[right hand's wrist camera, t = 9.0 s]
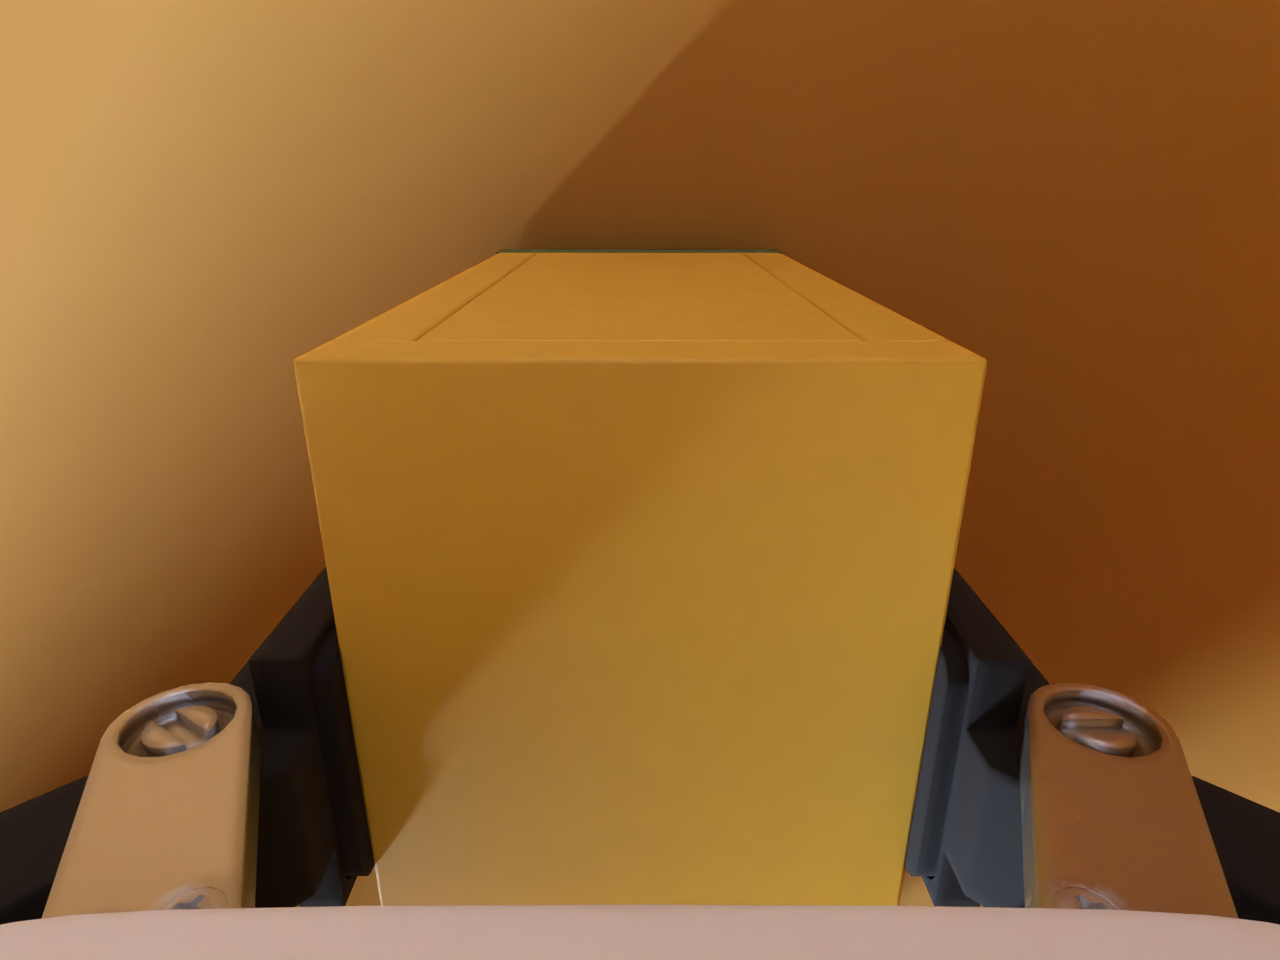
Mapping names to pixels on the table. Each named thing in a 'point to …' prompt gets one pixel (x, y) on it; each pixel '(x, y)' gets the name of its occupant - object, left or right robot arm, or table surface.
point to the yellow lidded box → (639, 576)
